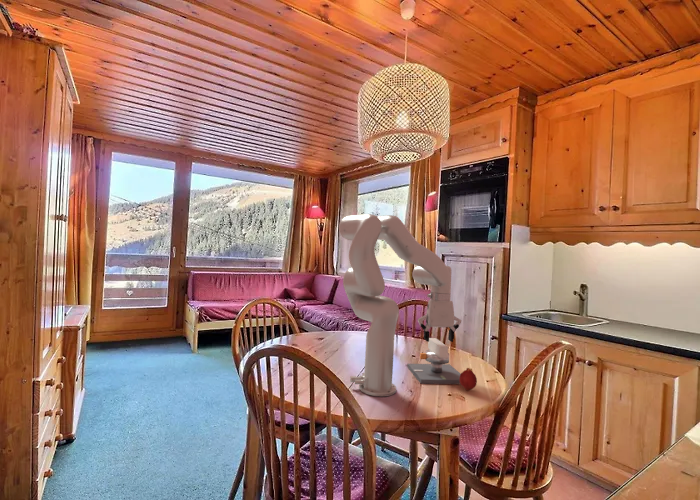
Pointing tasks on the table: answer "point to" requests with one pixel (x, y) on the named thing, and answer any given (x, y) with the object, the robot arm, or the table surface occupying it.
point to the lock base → (435, 373)
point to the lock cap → (436, 352)
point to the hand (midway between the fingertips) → (438, 340)
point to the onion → (468, 379)
